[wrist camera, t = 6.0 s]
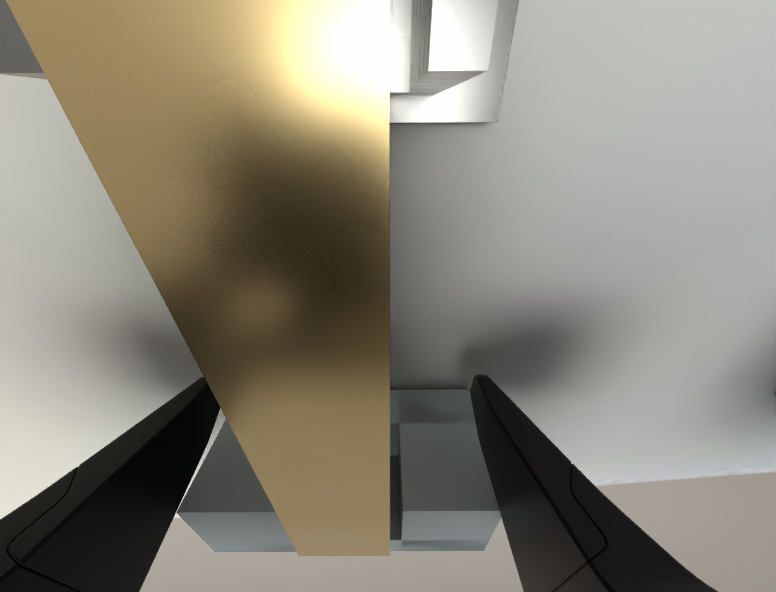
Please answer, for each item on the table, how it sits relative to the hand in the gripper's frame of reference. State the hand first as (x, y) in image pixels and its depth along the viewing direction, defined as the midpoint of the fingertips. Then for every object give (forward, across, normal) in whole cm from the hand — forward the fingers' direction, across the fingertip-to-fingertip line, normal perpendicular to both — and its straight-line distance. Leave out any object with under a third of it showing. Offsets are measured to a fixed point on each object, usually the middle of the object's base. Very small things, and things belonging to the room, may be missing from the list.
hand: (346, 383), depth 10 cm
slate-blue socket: (+2, 0, +4) cm, 4 cm away
